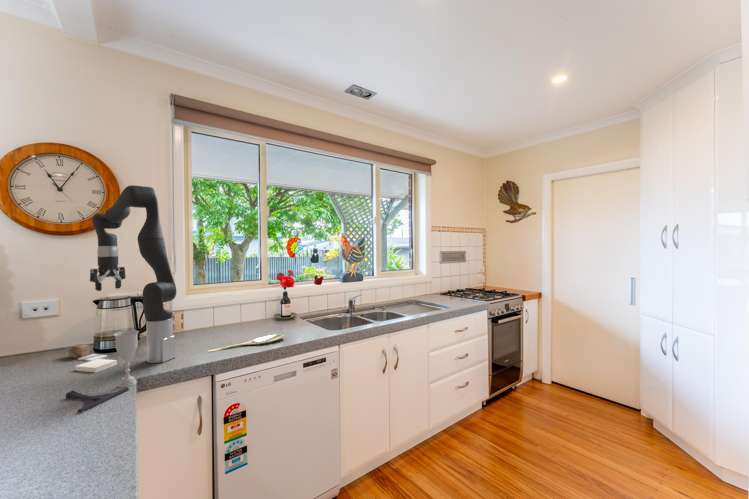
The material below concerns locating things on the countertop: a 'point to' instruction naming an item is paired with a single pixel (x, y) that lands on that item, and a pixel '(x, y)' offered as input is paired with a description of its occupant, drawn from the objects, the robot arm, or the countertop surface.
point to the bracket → (93, 398)
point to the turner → (82, 353)
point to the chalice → (127, 353)
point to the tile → (96, 365)
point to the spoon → (253, 341)
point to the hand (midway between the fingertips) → (108, 289)
